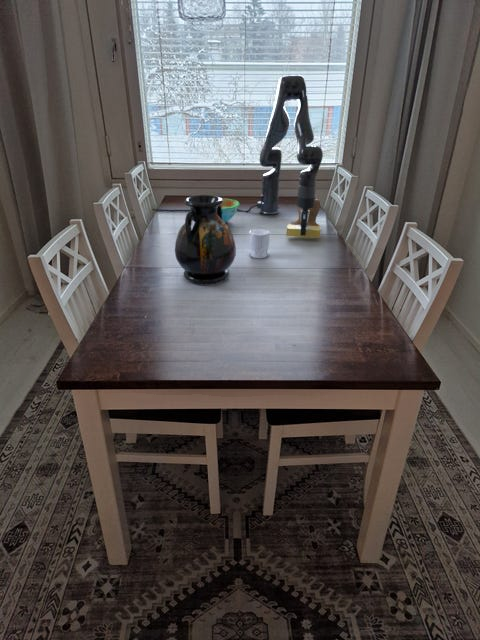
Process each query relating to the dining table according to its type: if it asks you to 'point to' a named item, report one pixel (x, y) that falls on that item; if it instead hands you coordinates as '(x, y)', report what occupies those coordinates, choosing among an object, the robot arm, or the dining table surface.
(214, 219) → the amphora vase
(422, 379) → the dining table surface
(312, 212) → the stone cup
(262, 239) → the white cup
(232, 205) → the bowl
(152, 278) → the dining table surface
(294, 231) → the packet
